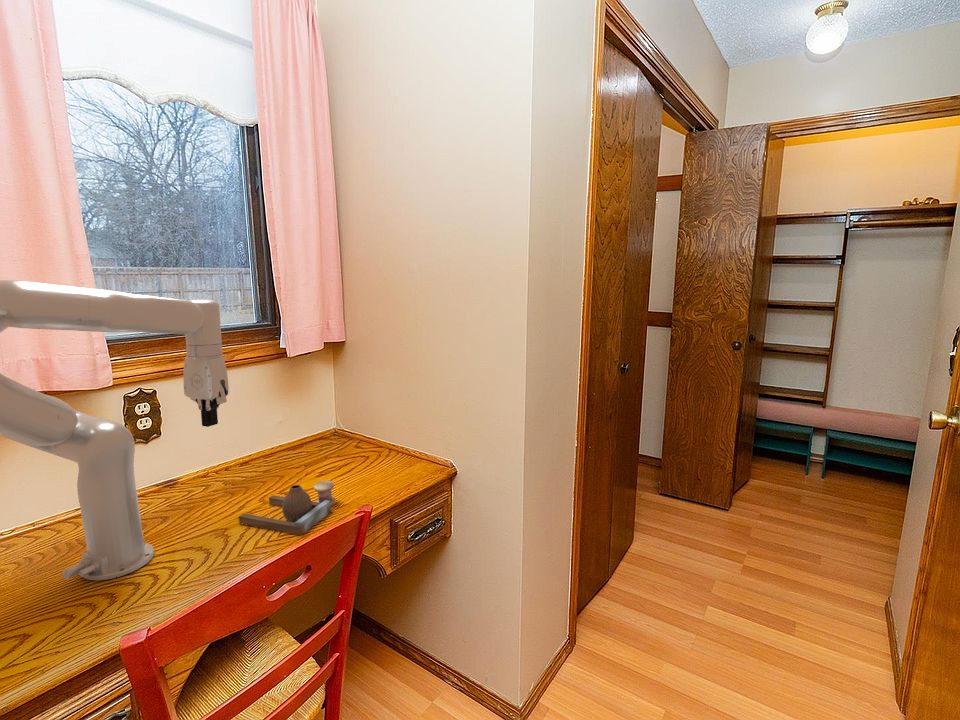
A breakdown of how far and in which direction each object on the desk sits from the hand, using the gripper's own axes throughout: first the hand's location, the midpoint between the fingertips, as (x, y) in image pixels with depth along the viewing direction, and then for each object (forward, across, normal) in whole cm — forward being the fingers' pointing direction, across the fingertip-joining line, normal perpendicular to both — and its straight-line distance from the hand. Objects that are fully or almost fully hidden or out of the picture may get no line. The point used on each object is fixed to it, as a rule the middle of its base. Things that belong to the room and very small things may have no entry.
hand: (210, 424), depth 121 cm
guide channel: (+24, +17, +6) cm, 30 cm away
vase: (+24, +20, +6) cm, 32 cm away
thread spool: (+23, +21, +16) cm, 35 cm away
